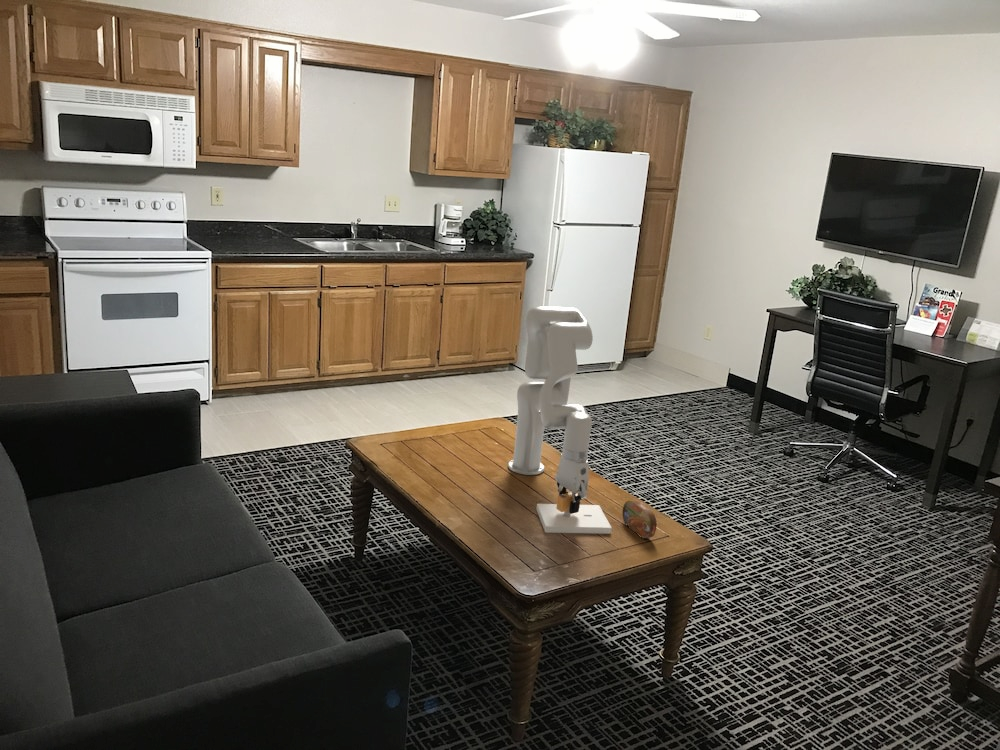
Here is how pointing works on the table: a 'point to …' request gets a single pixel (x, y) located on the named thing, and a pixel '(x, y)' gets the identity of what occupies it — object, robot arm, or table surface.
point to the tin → (639, 519)
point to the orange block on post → (564, 502)
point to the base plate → (573, 520)
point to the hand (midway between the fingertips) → (567, 508)
